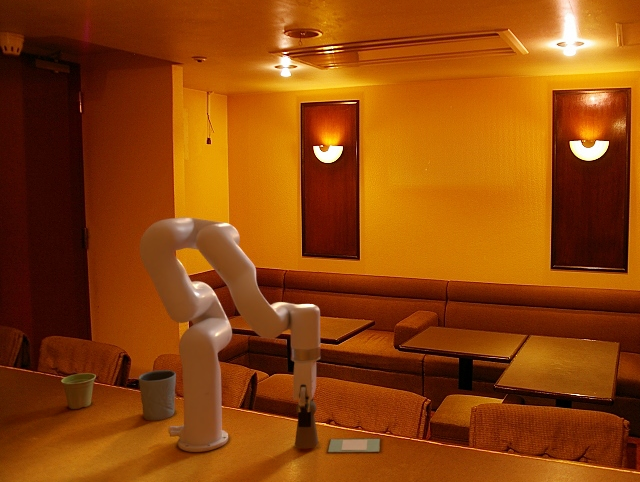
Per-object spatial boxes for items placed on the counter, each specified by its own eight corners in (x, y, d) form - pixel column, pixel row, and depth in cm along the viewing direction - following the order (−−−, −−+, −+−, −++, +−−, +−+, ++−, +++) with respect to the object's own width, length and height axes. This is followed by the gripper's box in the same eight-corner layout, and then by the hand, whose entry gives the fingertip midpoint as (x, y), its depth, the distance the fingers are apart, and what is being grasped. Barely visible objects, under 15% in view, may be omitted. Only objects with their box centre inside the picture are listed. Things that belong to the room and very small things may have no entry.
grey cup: (183, 413, 180) (183, 373, 179) (154, 424, 171) (153, 383, 171) (162, 406, 185) (161, 367, 185) (132, 417, 177) (131, 376, 176)
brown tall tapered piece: (313, 449, 154) (313, 406, 153) (291, 447, 155) (290, 405, 154) (321, 439, 160) (321, 398, 159) (299, 437, 161) (299, 396, 160)
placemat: (328, 452, 154) (328, 451, 154) (330, 439, 161) (330, 438, 161) (379, 452, 154) (379, 451, 154) (379, 439, 161) (379, 438, 161)
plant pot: (86, 411, 181) (85, 383, 181) (55, 411, 181) (54, 383, 181) (102, 400, 190) (101, 373, 190) (72, 400, 191) (71, 373, 190)
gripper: (296, 344, 164) (296, 409, 165) (285, 363, 147) (286, 435, 148) (323, 344, 164) (324, 409, 165) (316, 362, 147) (317, 435, 148)
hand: (306, 421), depth 157 cm, fingers closed on brown tall tapered piece, 5 cm apart
